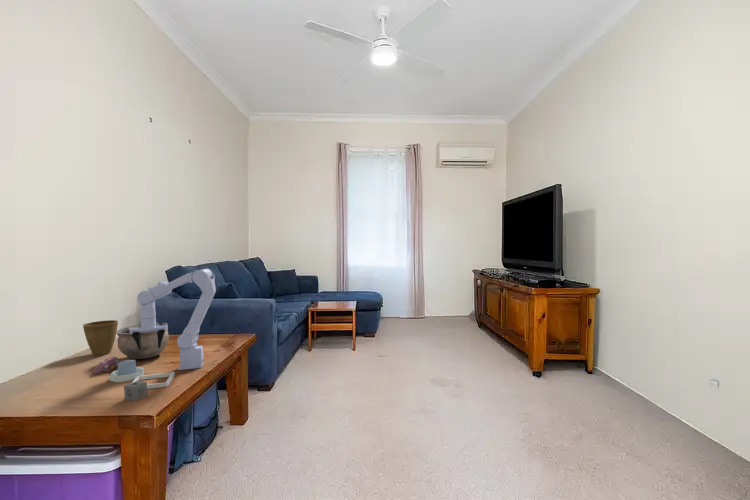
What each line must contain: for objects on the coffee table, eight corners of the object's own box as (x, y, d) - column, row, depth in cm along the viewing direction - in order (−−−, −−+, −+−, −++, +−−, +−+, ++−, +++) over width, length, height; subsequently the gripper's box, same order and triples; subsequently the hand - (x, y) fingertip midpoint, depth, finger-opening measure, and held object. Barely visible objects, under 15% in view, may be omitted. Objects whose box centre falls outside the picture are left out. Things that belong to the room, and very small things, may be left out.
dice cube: (137, 394, 148) (137, 380, 148) (147, 395, 146) (146, 382, 146) (124, 399, 144) (124, 385, 143) (134, 401, 142) (133, 387, 142)
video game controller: (99, 378, 173) (105, 363, 172) (91, 373, 174) (96, 358, 173) (118, 370, 183) (123, 357, 182) (110, 365, 183) (115, 352, 183)
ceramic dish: (146, 371, 175) (146, 365, 175) (138, 379, 164) (138, 373, 164) (116, 374, 172) (116, 368, 172) (106, 383, 161) (106, 377, 161)
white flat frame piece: (174, 375, 168) (174, 371, 168) (167, 386, 155) (167, 382, 155) (137, 379, 164) (137, 376, 164) (127, 391, 151) (127, 387, 151)
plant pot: (107, 357, 200) (105, 325, 199) (77, 358, 200) (75, 326, 199) (125, 349, 215) (124, 319, 214) (98, 350, 215) (96, 320, 214)
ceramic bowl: (178, 354, 200) (177, 324, 200) (133, 366, 182) (131, 334, 182) (154, 349, 212) (152, 320, 212) (109, 360, 194) (107, 329, 194)
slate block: (136, 374, 170) (135, 360, 169) (127, 377, 165) (127, 363, 165) (126, 373, 170) (126, 359, 170) (118, 377, 166) (117, 363, 166)
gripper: (168, 314, 183) (169, 344, 183) (132, 317, 179) (133, 347, 179) (165, 317, 176) (166, 348, 176) (127, 320, 172) (129, 351, 172)
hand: (149, 348), depth 177 cm, fingers open, 7 cm apart
